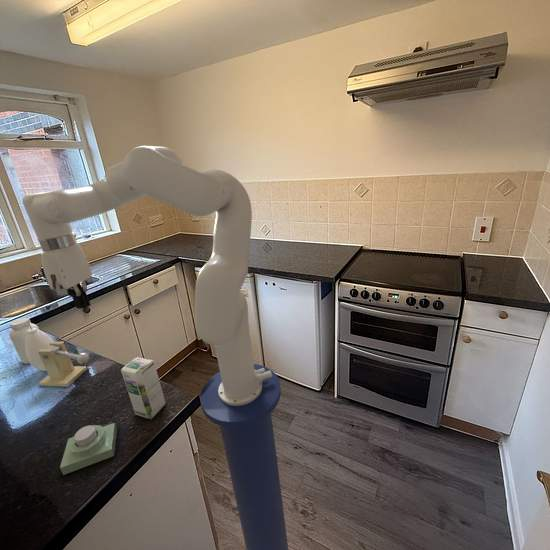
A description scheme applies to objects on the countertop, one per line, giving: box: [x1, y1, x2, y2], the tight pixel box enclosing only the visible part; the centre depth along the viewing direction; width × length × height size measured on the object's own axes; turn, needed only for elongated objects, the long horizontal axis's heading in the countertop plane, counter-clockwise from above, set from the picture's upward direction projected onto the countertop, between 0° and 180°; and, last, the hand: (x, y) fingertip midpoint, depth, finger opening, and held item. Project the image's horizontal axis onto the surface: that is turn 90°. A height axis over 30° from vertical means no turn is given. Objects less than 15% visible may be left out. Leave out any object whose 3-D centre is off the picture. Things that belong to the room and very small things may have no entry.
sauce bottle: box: [25, 323, 54, 372], centre depth 97 cm, size 8×8×18 cm
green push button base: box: [59, 422, 118, 476], centre depth 68 cm, size 10×8×4 cm
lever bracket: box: [38, 341, 88, 388], centre depth 93 cm, size 10×8×12 cm
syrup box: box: [120, 356, 167, 420], centre depth 77 cm, size 6×6×14 cm
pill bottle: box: [9, 317, 41, 364], centre depth 105 cm, size 8×8×15 cm
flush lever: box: [47, 345, 90, 365], centre depth 91 cm, size 13×3×3 cm, turn 81°
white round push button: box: [73, 424, 97, 447], centre depth 67 cm, size 4×4×2 cm
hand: (83, 306), depth 82 cm, fingers closed
